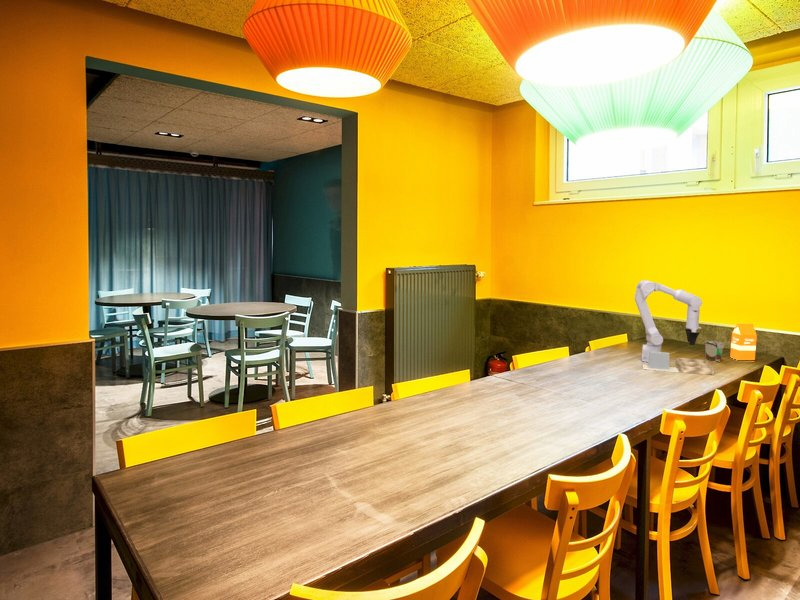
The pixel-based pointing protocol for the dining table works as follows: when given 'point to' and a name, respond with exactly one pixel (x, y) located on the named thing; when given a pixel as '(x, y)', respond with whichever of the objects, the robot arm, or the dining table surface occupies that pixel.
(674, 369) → the beige panel
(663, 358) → the tall block
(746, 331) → the orange juice
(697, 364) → the offcut block top
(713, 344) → the food container
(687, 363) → the wooden tray
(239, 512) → the dining table surface
